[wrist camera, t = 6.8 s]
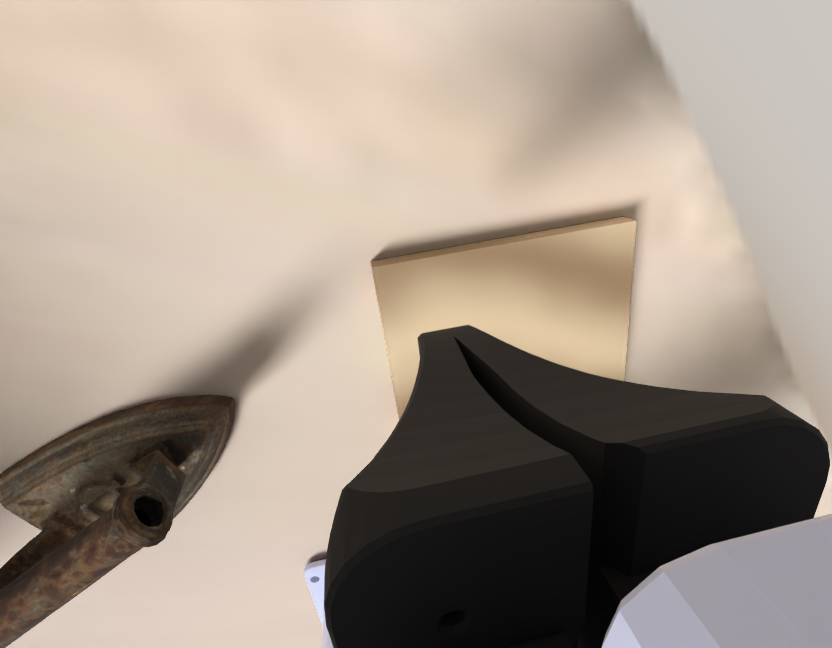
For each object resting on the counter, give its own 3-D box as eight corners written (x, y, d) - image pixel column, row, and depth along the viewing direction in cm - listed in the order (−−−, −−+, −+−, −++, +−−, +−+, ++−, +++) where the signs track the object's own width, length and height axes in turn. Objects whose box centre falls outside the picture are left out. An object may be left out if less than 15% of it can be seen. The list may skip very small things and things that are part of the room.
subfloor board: (606, 487, 28) (615, 499, 27) (419, 532, 27) (422, 547, 26) (623, 216, 21) (636, 220, 20) (370, 261, 19) (372, 267, 19)
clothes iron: (-8, 480, 21) (-233, 667, 12) (186, 328, 23) (122, 388, 13) (110, 564, 23) (0, 777, 14) (279, 421, 25) (282, 529, 15)
